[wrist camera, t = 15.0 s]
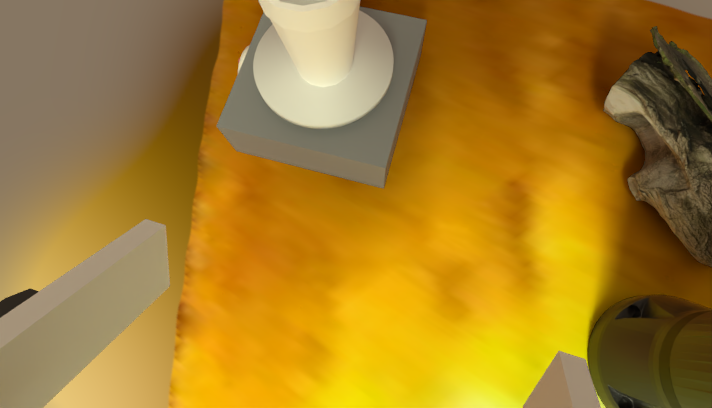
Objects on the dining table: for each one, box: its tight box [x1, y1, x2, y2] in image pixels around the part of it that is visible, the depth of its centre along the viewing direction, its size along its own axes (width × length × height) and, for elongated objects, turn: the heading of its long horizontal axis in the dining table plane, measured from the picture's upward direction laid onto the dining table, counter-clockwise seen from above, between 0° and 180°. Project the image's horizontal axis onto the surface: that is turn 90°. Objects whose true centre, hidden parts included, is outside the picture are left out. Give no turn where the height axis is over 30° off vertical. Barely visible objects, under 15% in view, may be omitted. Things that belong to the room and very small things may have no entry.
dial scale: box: [217, 7, 427, 188], centre depth 49 cm, size 21×20×9 cm
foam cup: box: [258, 0, 360, 87], centre depth 39 cm, size 10×9×13 cm
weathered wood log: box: [603, 26, 712, 267], centre depth 44 cm, size 28×13×15 cm
